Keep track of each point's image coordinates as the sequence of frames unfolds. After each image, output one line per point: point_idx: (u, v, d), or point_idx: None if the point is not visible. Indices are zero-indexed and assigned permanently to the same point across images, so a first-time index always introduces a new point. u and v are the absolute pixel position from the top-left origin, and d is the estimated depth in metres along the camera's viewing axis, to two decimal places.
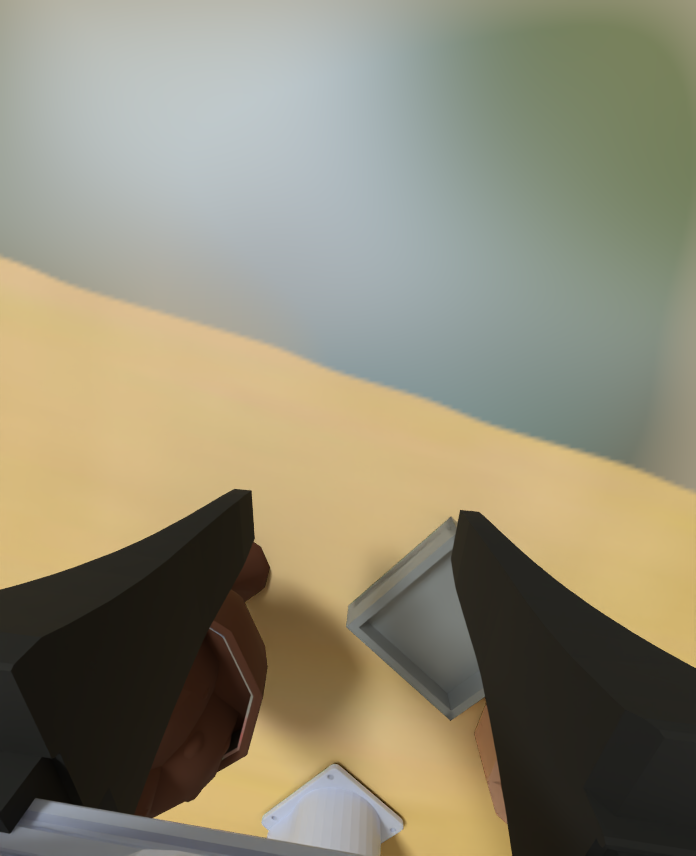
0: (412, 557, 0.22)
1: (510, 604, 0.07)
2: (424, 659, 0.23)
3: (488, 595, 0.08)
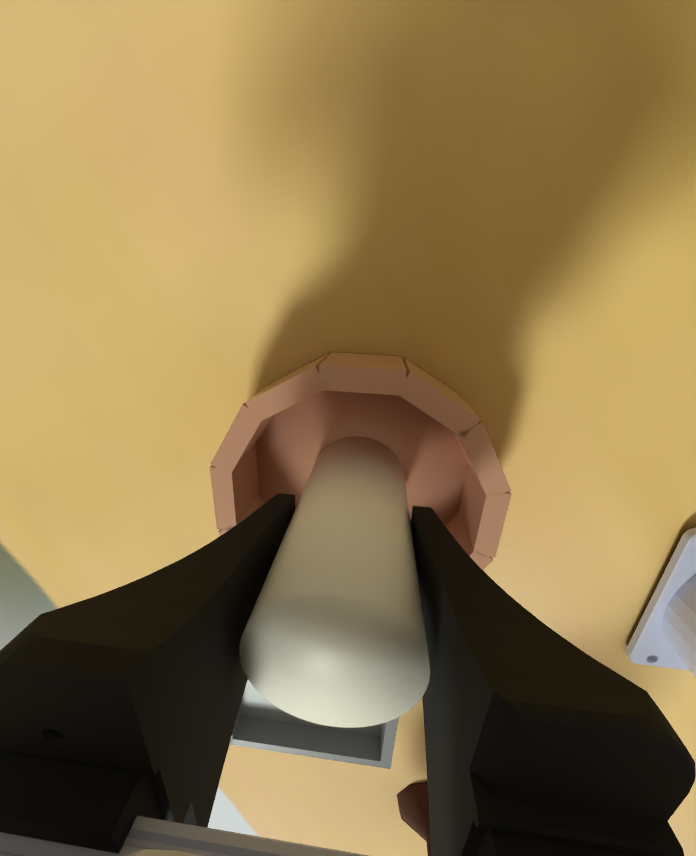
0: None
1: (438, 596, 0.07)
2: None
3: (426, 587, 0.08)
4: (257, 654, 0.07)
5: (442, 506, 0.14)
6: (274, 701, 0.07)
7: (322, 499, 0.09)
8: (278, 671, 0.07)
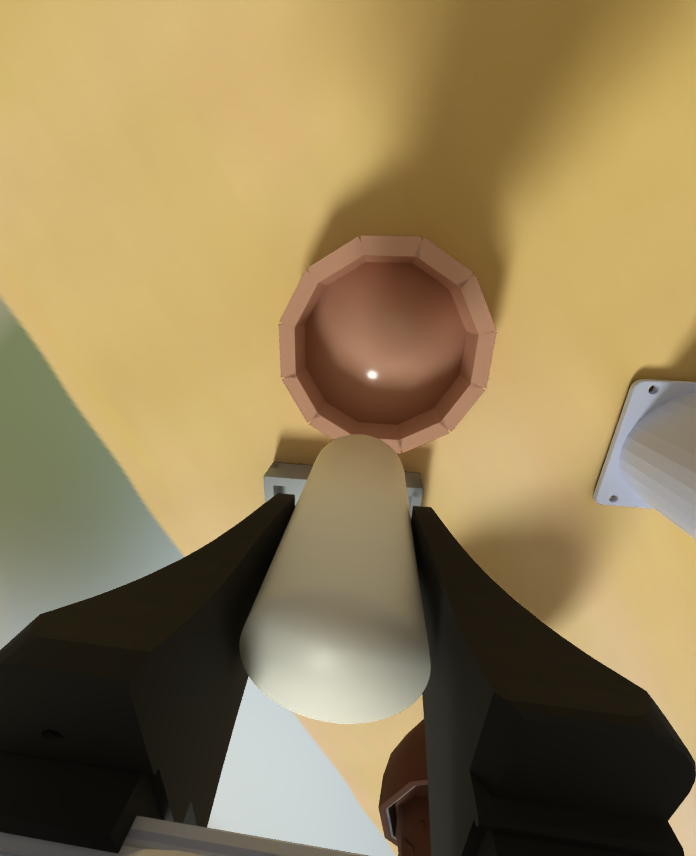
0: None
1: (438, 596, 0.07)
2: None
3: (426, 587, 0.08)
4: (257, 649, 0.07)
5: (447, 369, 0.19)
6: (273, 696, 0.07)
7: (323, 495, 0.09)
8: (278, 666, 0.07)
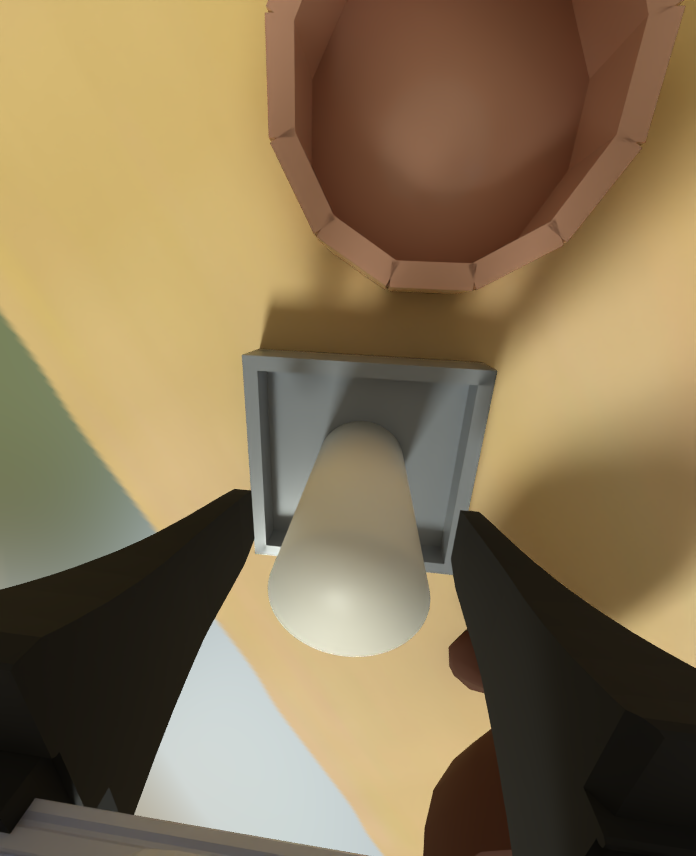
0: None
1: (510, 604, 0.07)
2: (440, 445, 0.15)
3: (488, 594, 0.08)
4: (283, 587, 0.08)
5: (548, 161, 0.11)
6: (295, 632, 0.09)
7: (334, 467, 0.11)
8: (300, 603, 0.08)
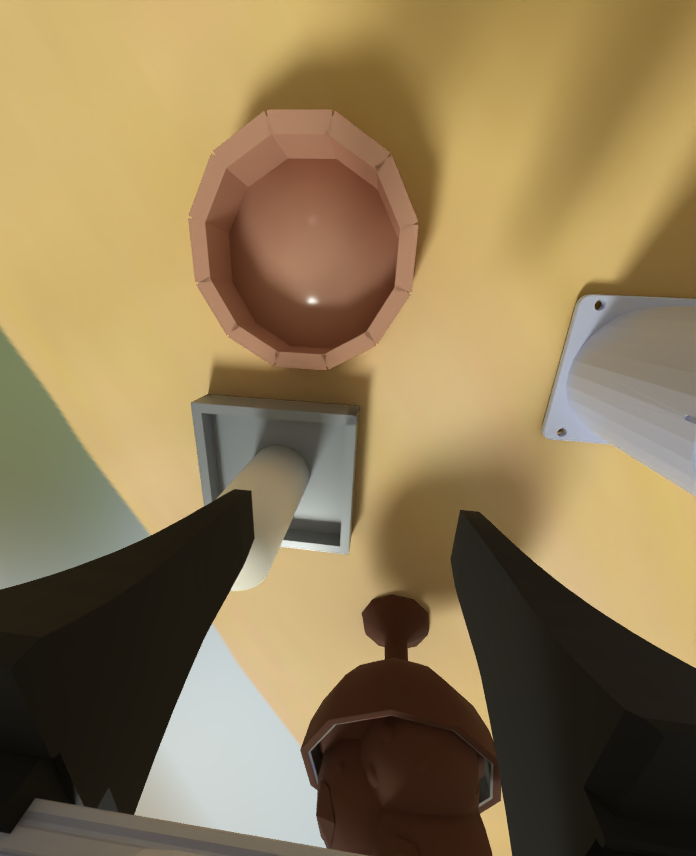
0: None
1: (510, 604, 0.07)
2: (333, 462, 0.21)
3: (488, 594, 0.08)
4: None
5: (380, 284, 0.18)
6: None
7: (238, 480, 0.17)
8: None
